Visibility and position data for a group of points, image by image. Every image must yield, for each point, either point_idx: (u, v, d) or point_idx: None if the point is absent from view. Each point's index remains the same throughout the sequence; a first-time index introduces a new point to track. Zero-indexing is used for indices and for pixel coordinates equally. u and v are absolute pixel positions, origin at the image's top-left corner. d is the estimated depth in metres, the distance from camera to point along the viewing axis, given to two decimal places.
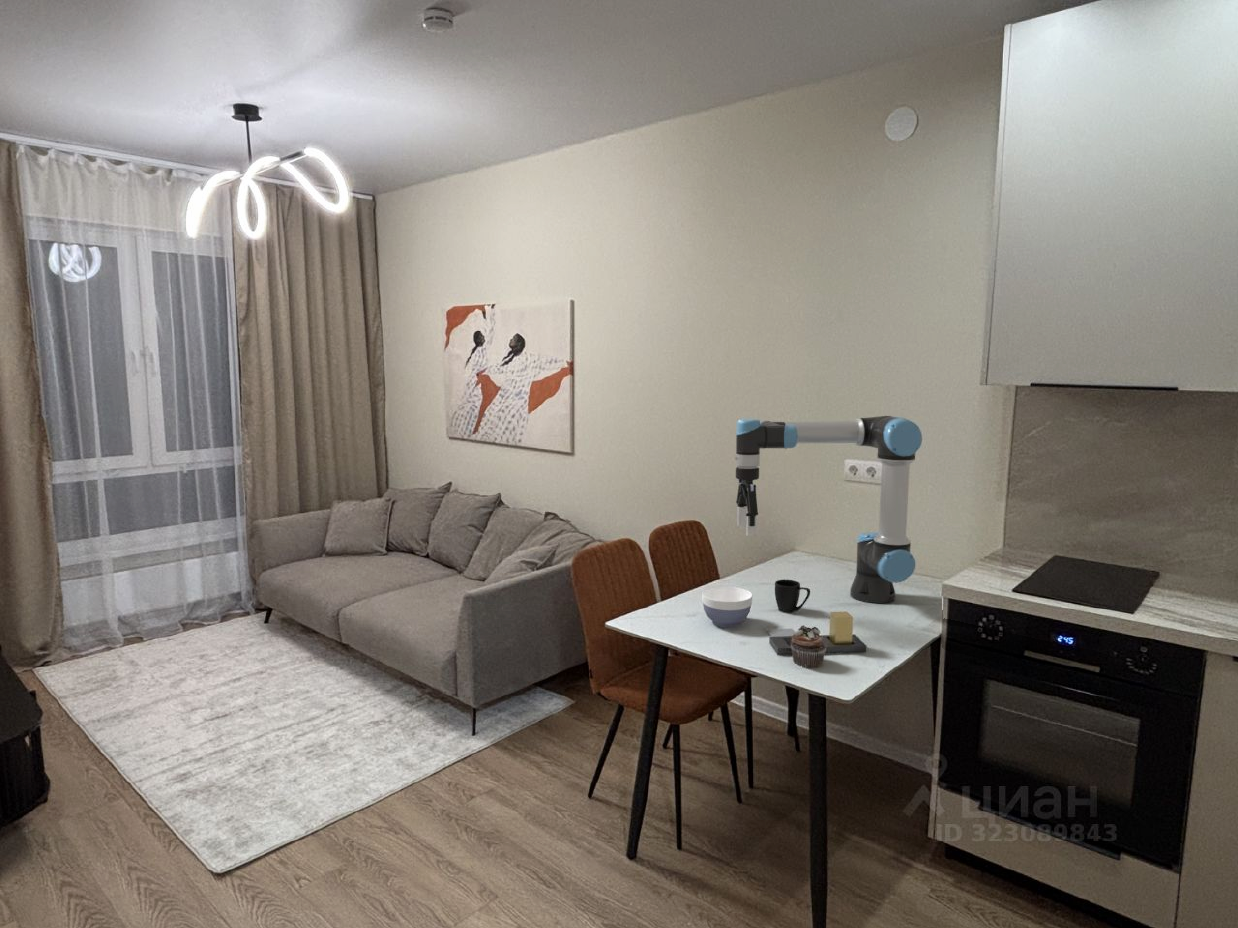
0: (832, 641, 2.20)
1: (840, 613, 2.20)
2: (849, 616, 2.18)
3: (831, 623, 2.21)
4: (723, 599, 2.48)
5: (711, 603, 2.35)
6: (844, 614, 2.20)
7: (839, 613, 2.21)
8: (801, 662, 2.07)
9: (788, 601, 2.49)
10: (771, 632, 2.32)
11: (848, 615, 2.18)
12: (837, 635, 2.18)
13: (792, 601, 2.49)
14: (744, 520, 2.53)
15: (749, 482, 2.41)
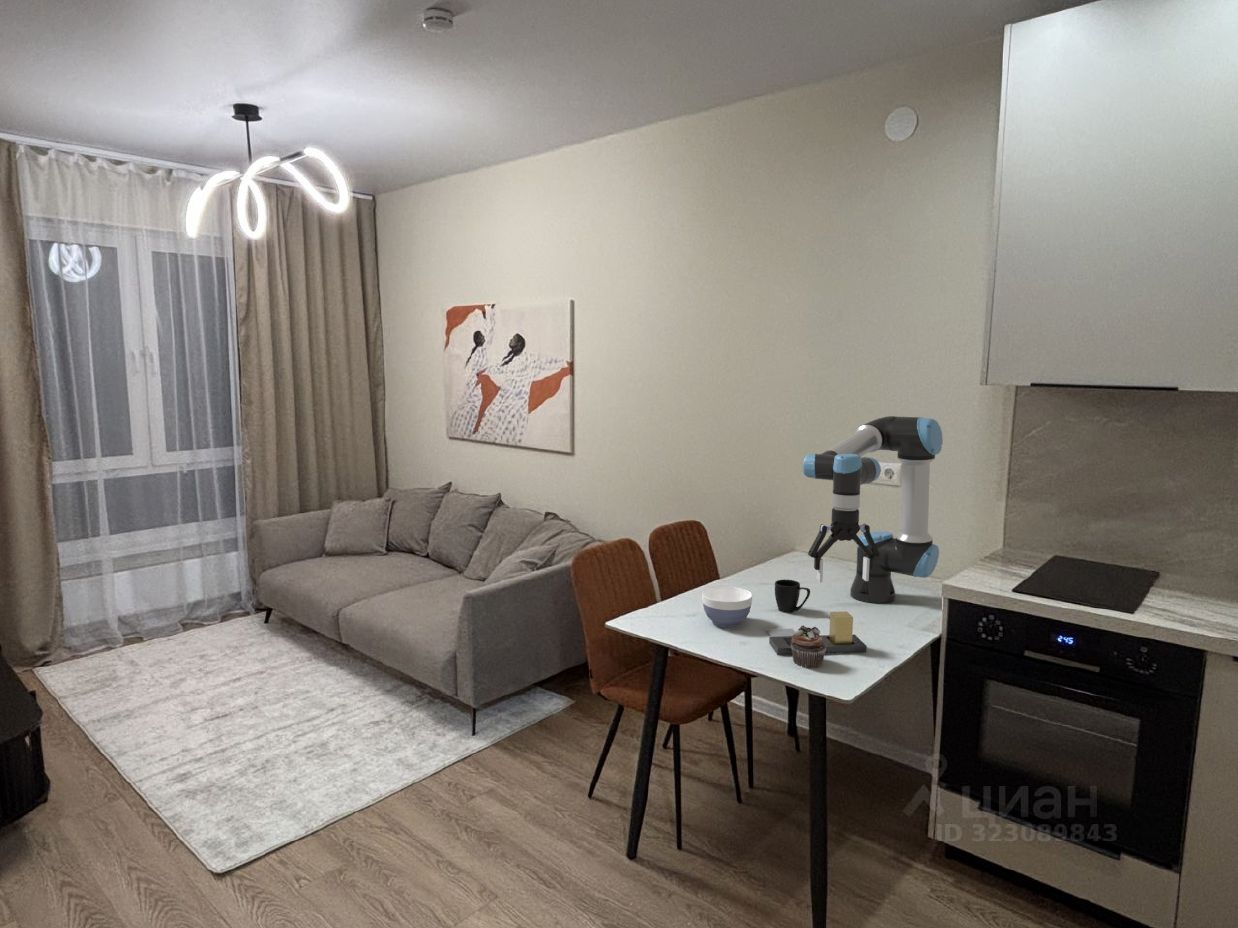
0: (832, 641, 2.20)
1: (840, 613, 2.20)
2: (849, 616, 2.18)
3: (831, 623, 2.21)
4: (723, 599, 2.48)
5: (711, 603, 2.35)
6: (844, 614, 2.20)
7: (839, 613, 2.21)
8: (801, 662, 2.07)
9: (788, 601, 2.49)
10: (771, 632, 2.32)
11: (848, 615, 2.18)
12: (837, 635, 2.18)
13: (792, 601, 2.49)
14: (865, 573, 2.17)
15: (831, 523, 2.16)
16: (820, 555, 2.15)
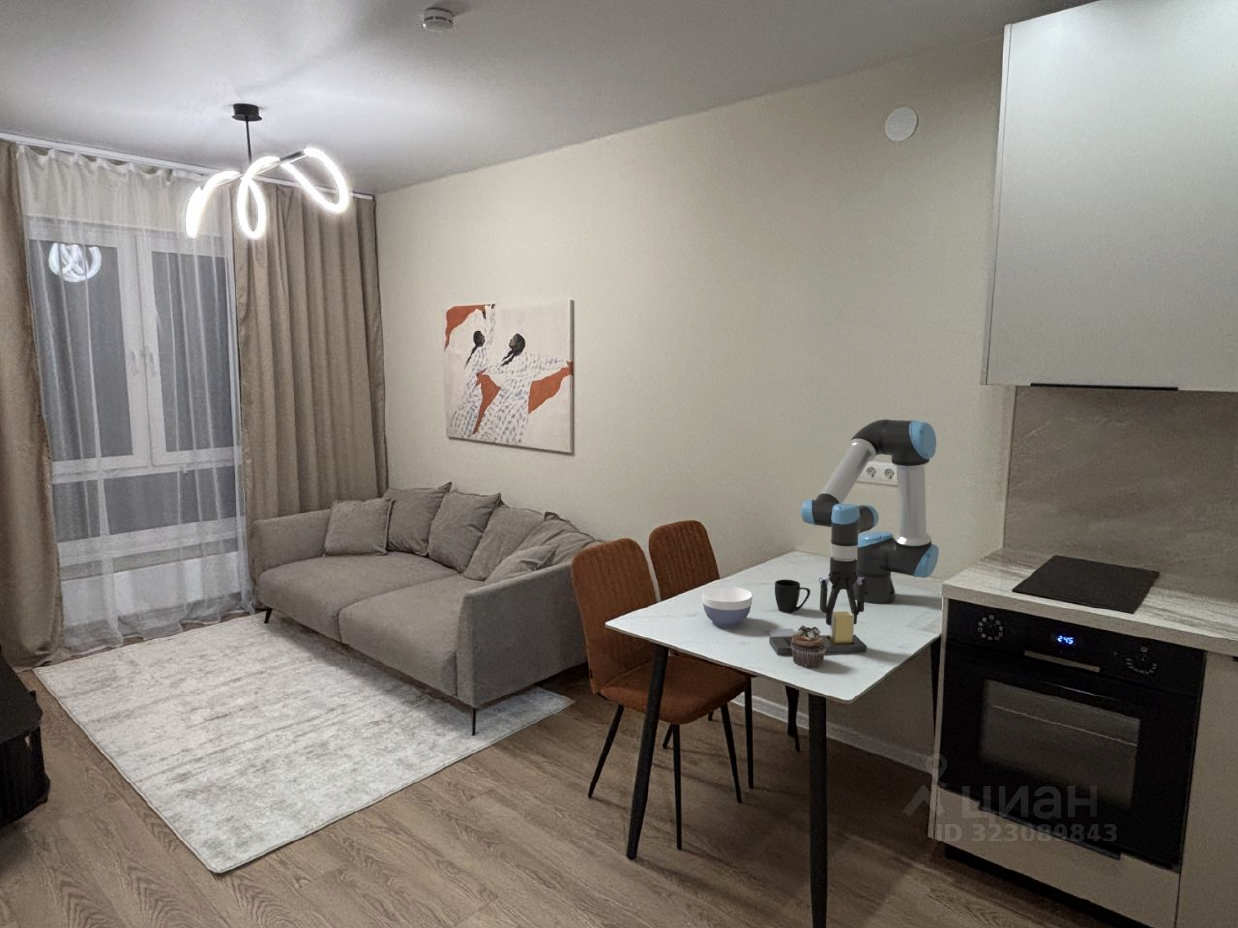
0: (832, 641, 2.20)
1: (840, 613, 2.20)
2: (849, 616, 2.18)
3: None
4: (723, 599, 2.48)
5: (711, 603, 2.35)
6: (844, 614, 2.20)
7: (839, 613, 2.21)
8: (801, 662, 2.07)
9: (788, 601, 2.49)
10: (771, 632, 2.32)
11: (848, 615, 2.18)
12: (837, 635, 2.18)
13: (792, 601, 2.49)
14: None
15: None
16: (831, 610, 2.18)
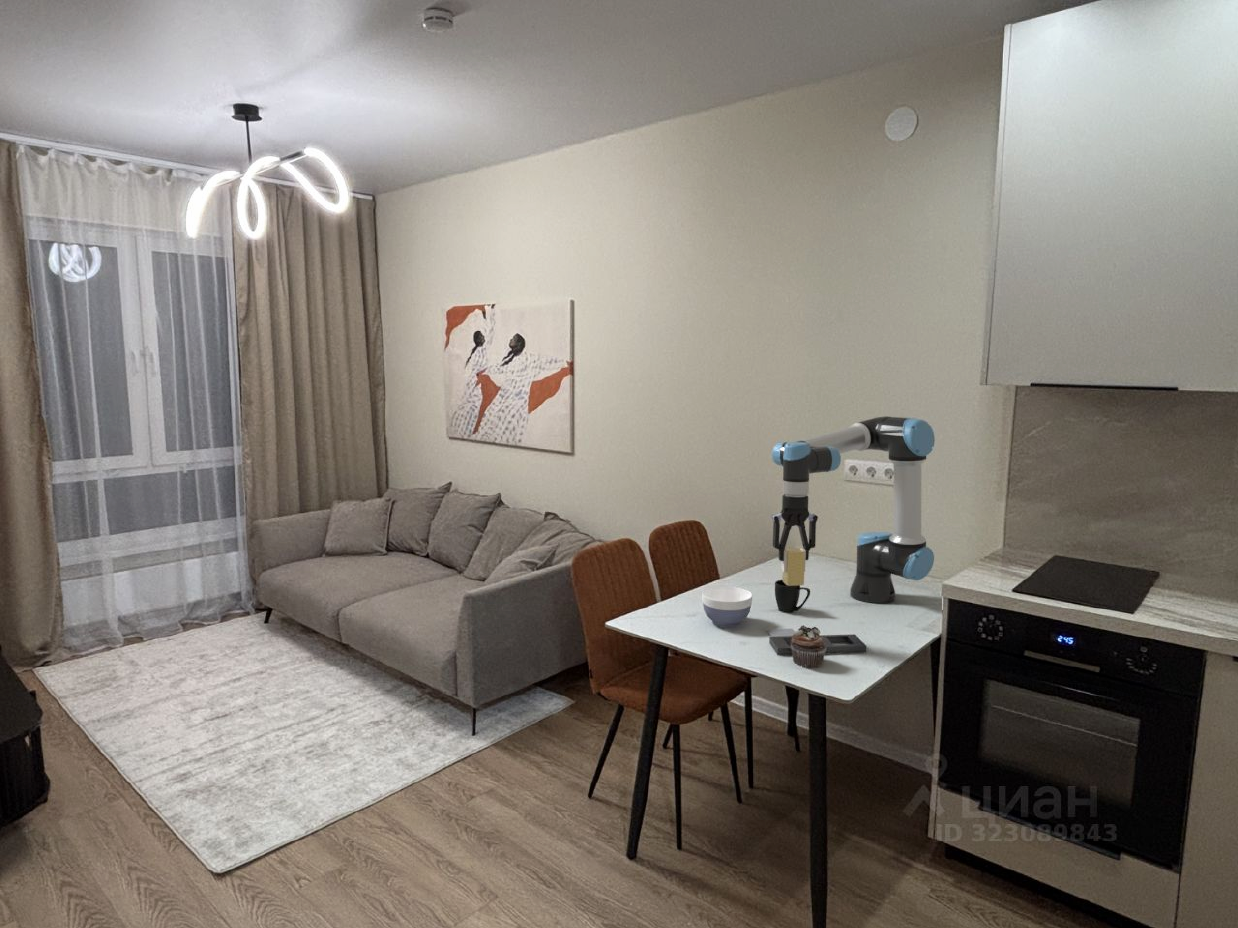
0: (785, 577, 2.26)
1: (792, 550, 2.26)
2: (801, 552, 2.24)
3: None
4: (723, 599, 2.48)
5: (711, 603, 2.35)
6: (796, 550, 2.25)
7: (792, 549, 2.26)
8: (801, 662, 2.07)
9: (788, 601, 2.49)
10: (771, 632, 2.32)
11: (800, 551, 2.24)
12: (789, 570, 2.23)
13: (792, 601, 2.49)
14: None
15: None
16: (783, 546, 2.24)
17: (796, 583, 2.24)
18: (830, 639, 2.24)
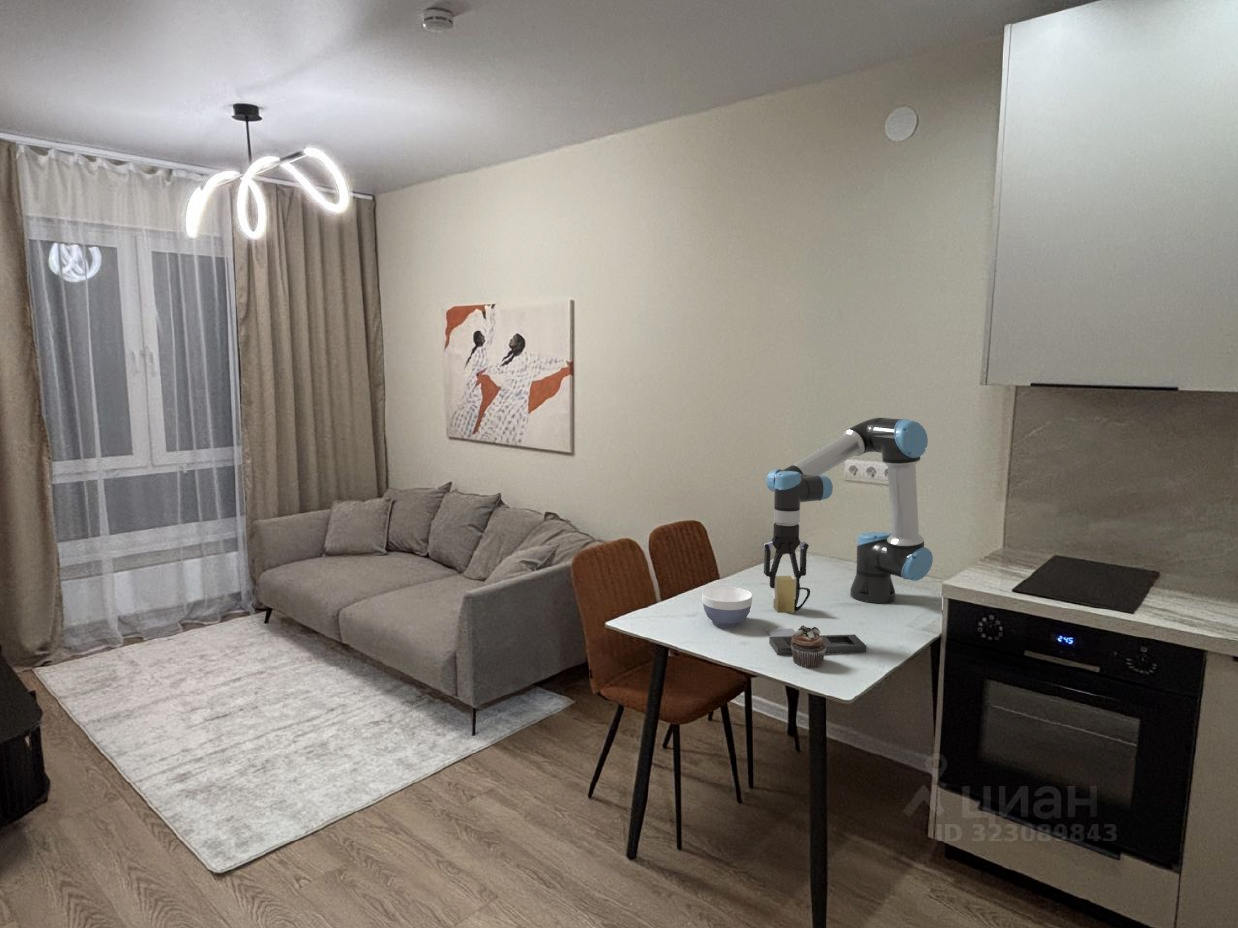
0: (776, 604, 2.29)
1: (783, 577, 2.28)
2: (791, 579, 2.26)
3: None
4: (723, 599, 2.48)
5: (711, 603, 2.35)
6: (787, 578, 2.28)
7: (783, 577, 2.29)
8: (801, 662, 2.07)
9: None
10: (771, 632, 2.32)
11: (790, 579, 2.27)
12: (779, 597, 2.26)
13: None
14: None
15: (772, 539, 2.26)
16: (774, 573, 2.26)
17: (786, 610, 2.27)
18: (830, 639, 2.24)
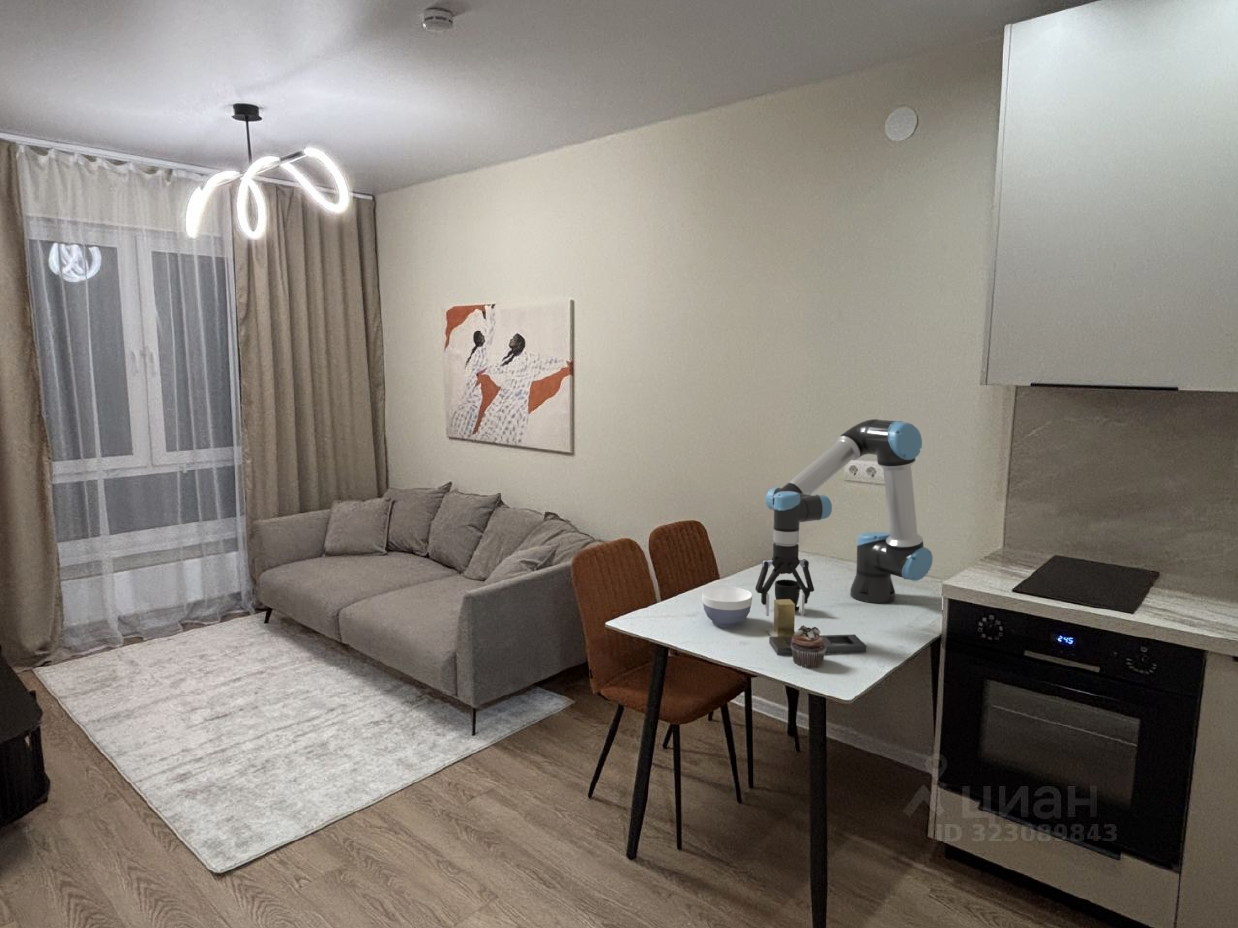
0: (776, 627, 2.30)
1: (783, 601, 2.29)
2: (791, 603, 2.27)
3: (775, 610, 2.30)
4: (723, 599, 2.48)
5: (711, 603, 2.35)
6: (787, 602, 2.29)
7: (783, 600, 2.30)
8: (801, 662, 2.07)
9: None
10: (771, 632, 2.32)
11: (790, 603, 2.28)
12: (779, 621, 2.27)
13: (792, 601, 2.49)
14: (801, 608, 2.29)
15: (772, 558, 2.27)
16: (766, 590, 2.27)
17: (786, 634, 2.28)
18: (830, 639, 2.24)
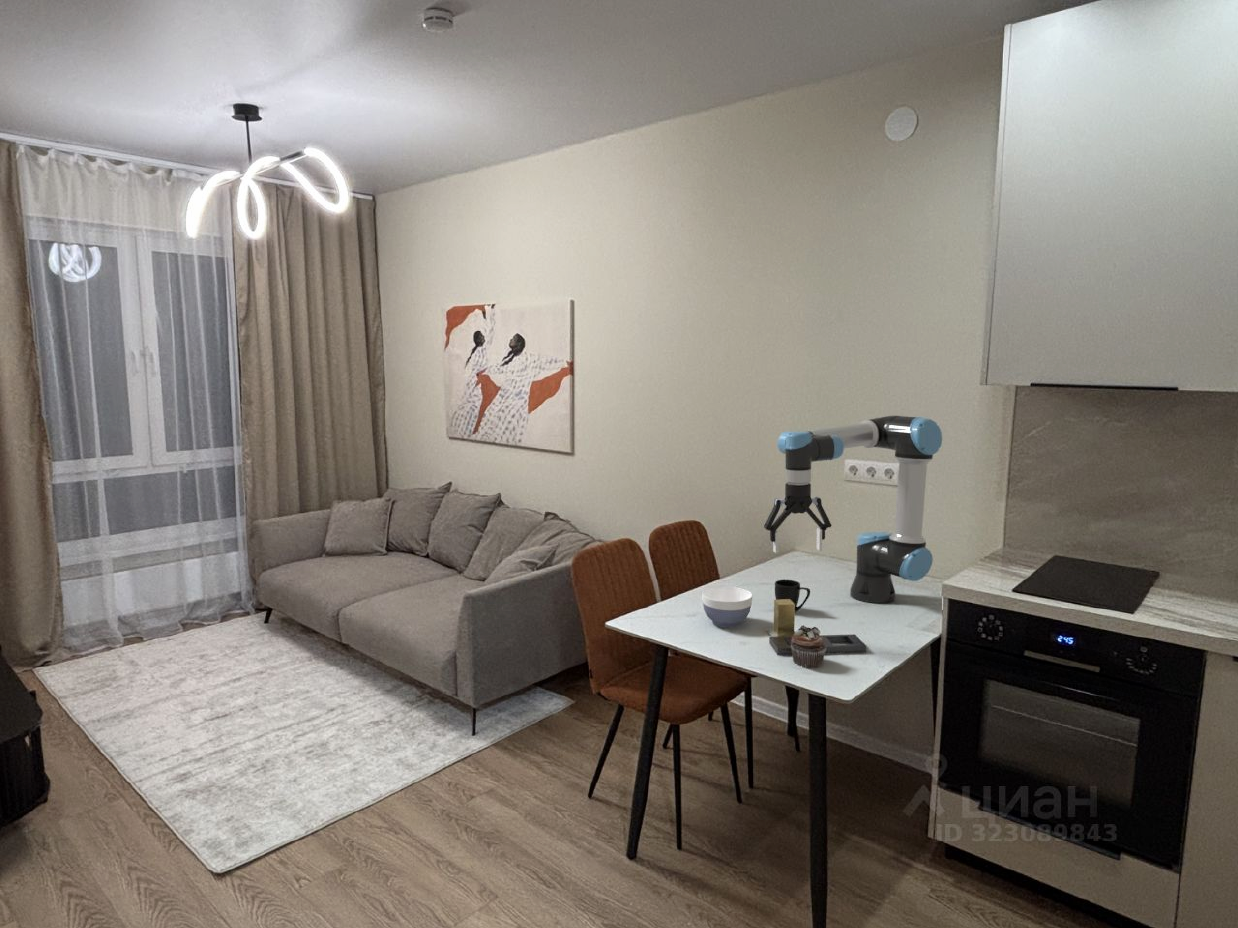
0: (776, 627, 2.30)
1: (783, 601, 2.29)
2: (791, 603, 2.27)
3: (775, 610, 2.30)
4: (723, 599, 2.48)
5: (711, 603, 2.35)
6: (787, 602, 2.29)
7: (783, 600, 2.30)
8: (801, 662, 2.07)
9: None
10: (771, 632, 2.32)
11: (790, 603, 2.28)
12: (779, 621, 2.27)
13: (792, 601, 2.49)
14: (818, 544, 2.30)
15: (785, 497, 2.28)
16: (775, 528, 2.28)
17: (786, 634, 2.28)
18: (830, 639, 2.24)
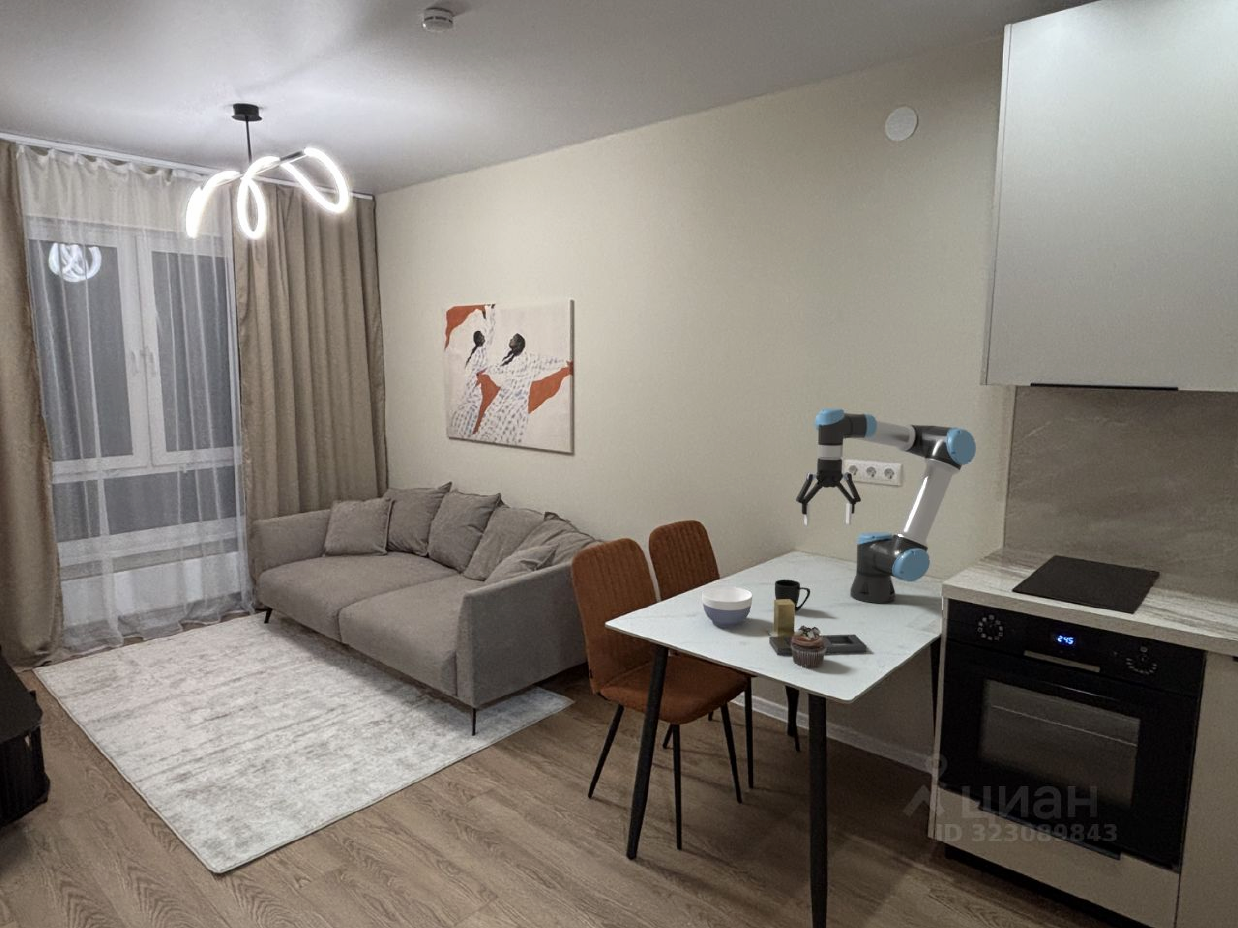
0: (776, 627, 2.30)
1: (783, 601, 2.29)
2: (791, 603, 2.27)
3: (775, 610, 2.30)
4: (723, 599, 2.48)
5: (711, 603, 2.35)
6: (787, 602, 2.29)
7: (783, 600, 2.30)
8: (801, 662, 2.07)
9: None
10: (771, 632, 2.32)
11: (790, 603, 2.28)
12: (779, 621, 2.27)
13: (792, 601, 2.49)
14: (848, 517, 2.39)
15: (817, 472, 2.37)
16: (807, 501, 2.37)
17: (786, 634, 2.28)
18: (830, 639, 2.24)
